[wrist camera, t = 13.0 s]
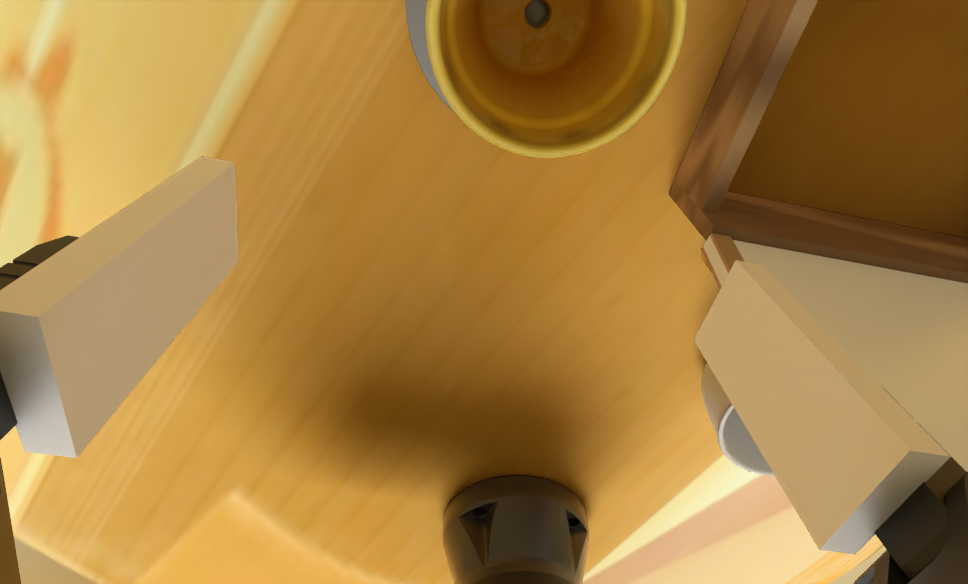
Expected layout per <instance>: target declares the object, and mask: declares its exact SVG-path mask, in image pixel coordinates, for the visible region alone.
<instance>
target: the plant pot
mask: <svg viewBox="0 0 968 584" xmlns="http://www.w3.org/2000/svg"><path fill="white" fill-rule="evenodd" d="M532 1H534V0H427V4H426V17H425V27H426V40H427V48H428V53H429V57H430V61H431V65H432V68H433V72H434V75H435V77H436V80H437V82H438V84H439V87H440V89H441V91H442V93H443V94H444V96H445V98H446V100H447V101H448V103H449V104H450V106H451V107H452V109H453V110H454V111H455V113H456V114H457V115H458V116H459V117H460V118H461V120H462V121H463V122H464V123H465V124H466V125H467V126H468V127H469V128H470V129H472V130H473V131H474V132H475V133H476V134H478V135H479V136H481V137H482V138H483V139H485V140H487V141H488V142H490V143H492V144H494V145H495V146H497V147H500V148H502V149H505V150H507V151H510V152H513V153H516V154H520V155H525V156H531V157H539V158H558V157H566V156H572V155H577V154H581V153H584V152H587V151H590V150H593V149H595V148H597V147H600V146H602V145H604V144H606V143H608V142H610V141H611V140H613V139H615V138H616V137H618V136H619V135H621V134H622V133H624V132H625V131H626V130H628V129H629V128H630V127H631V126H632V125H634V124H635V123H636V122H637V121H638V120H639V119H640V118H641V117H642V116H643V115H644V114H645V113H646V112H647V110H648V109H649V108H650V107H651V105H652V104H653V103H654V101H655V100H656V99H657V97H658V96H659V94H660V93H661V91H662V90H663V88H664V86H665V85H666V83H667V81H668V79H669V77H670V75H671V73H672V71H673V69H674V66H675V64H676V61H677V59H678V56H679V53H680V50H681V46H682V42H683V37H684V32H685V27H686V18H687V0H540V1H542V2H544V3H545V4H546V5H547V7H548V9H549V15H548V18H547V20H546V21H545V22H544V23H543V24H541V25H538V26H535V25H532V24H530V23H529V22H528V20H527V19H526V8H527V6H528V5H529V3H531V2H532Z"/></svg>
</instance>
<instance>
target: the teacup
mask: <svg viewBox="0 0 968 584" xmlns="http://www.w3.org/2000/svg"><path fill="white" fill-rule="evenodd" d="M701 389H702V395H703V399H704V403H705V406H706V409H707V411H708V414H709V416H710V419H711V421H712V424H713V426H714V428H715V431H716V433H717V436H718V441H719V445H720V448H721V450H722V451H723V453H724V454H725V455H726V456H727V458H728V459H730V460H731V461H732V462H733V463H734V464H736V465H738V466H739V467H741V468H743V469H745V470H747V471H749V472H754V473H758V474H764V475H771V476H775V475H774V473H773V471H772V470H771V468H770V466H769V465H768V463H767V461H766V460H765V458H764V456H763V455H762V453H761V451H760V450H759V448H758V446H757V445H756V443H755V441H754V440H753V438H752V436H751V435H750V433H749V431H748V430H747V428H746V426H745V425H744V423H743V421H742V420H741V418H740V416H739V415H738V413H737V411H736V410H735V408H734V406H733V405H732V403H731V401H730V400H729V398H728V396H727V395H726V393H725V392H724V390H723V388H722V387H721V385H720V383H719V382H718V380H717V378H716V377H715V375H714V373H713V372H712V370H711V368H710V367H709V365H708V363H706V365H705V368H704V370H703V374H702V380H701Z"/></svg>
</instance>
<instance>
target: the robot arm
mask: <svg viewBox="0 0 968 584" xmlns="http://www.w3.org/2000/svg"><path fill="white" fill-rule="evenodd" d="M237 263H238V231H237V200H236V169H235V162H230V161H225V160H220V159H215V158H210V157H205V156H201V157H200V158H198V159H197V160H195V161H194V162H192V163H191V164H189V165H188V166H186V167H185V168H183V169H182V170H180V171H179V172H177V173H176V174H174V175H173V176H171V177H170V178H168V179H167V180H165V181H164V182H162V183H161V184H159V185H158V186H156V187H155V188H153V189H152V190H150V191H149V192H147V193H146V194H144V195H143V196H141V197H140V198H138V199H137V200H135V201H134V202H132V203H131V204H129V205H128V206H126V207H125V208H123V209H122V210H120V211H119V212H117V213H116V214H114V215H113V216H111V217H110V218H108V219H107V220H105V221H104V222H102V223H101V224H99V225H98V226H96V227H95V228H93V229H92V230H90V231H89V232H87V233H86V234H84V235H83V236H81V237H80V238H79V237H73V236H65V237H62V238H58V239H55V240H52V241H49V242H46V243H43V244H40V245H37V246H35V247H33V248H32V249H30V250H28V251H27V252H25V253H24V254H22V255H20V256H19V257H17V258H15V259H14V260H13V263H7V264H6V265H4V266H3V267H1V268H0V440H1V439H2V438H3V437H4V436H5V435H6V434H7V433H8V432H9V431H10V430H11V429H12V428H13V427H14V426H15V425H16V428H17V431H18V434H19V437H20V439H21V442H22V445H23V448H24V451H25V452H33V453H41V454H49V455H57V456H65V457H73V458H77V457H78V456H79V455H80V454H81V452H82V451H83V450H84V449H85V448H86V446H87V445H88V444H89V443H90V442H91V440H92V439H93V438H94V437H95V435H96V434H97V433H98V432H99V431H100V429H101V428H102V427H103V426H104V424H105V423H106V422H107V421H108V420H109V418H110V417H111V416H112V415H113V414H114V412H115V411H116V410H117V409H118V407H119V406H120V405H121V404H122V403H123V401H124V400H125V399H126V398H127V397H128V395H129V394H130V393H131V392H132V390H133V389H134V388H135V387H136V386H137V384H138V383H139V382H140V381H141V380H142V378H143V377H144V376H145V375H146V373H147V372H148V371H149V370H150V369H151V367H152V366H153V365H154V364H155V363H156V361H157V360H158V359H159V358H160V356H161V355H162V354H163V353H164V352H165V350H166V349H167V348H168V347H169V345H170V344H171V343H172V342H173V341H174V339H175V338H176V337H177V336H178V335H179V333H180V332H181V331H182V330H183V328H184V327H185V326H186V325H187V324H188V322H189V321H190V320H191V319H192V318H193V316H194V315H195V314H196V313H197V311H198V310H199V309H200V308H201V307H202V305H203V304H204V303H205V302H206V301H207V299H208V298H209V297H210V296H211V294H212V293H213V292H214V291H215V290H216V288H217V287H218V286H219V285H220V284H221V282H222V281H223V280H224V279H225V277H226V276H227V275H228V274H229V273H230V271H231V270H232V269H233V268H234V267H235V265H236V264H237ZM694 342H695V343H696V345H697V347H698V348H699V350H700V352H701V353H702V355H703V357H704V358H705V360H706V362H707V363H708V365H709V367H710V368H711V370H712V372H713V373H714V375H715V377H716V378H717V380H718V382H719V383H720V385H721V387H722V388H723V390H724V392H725V393H726V395H727V396H728V398H729V400H730V401H731V403H732V405H733V406H734V408H735V410H736V411H737V413H738V415H739V416H740V418H741V420H742V421H743V423H744V425H745V426H746V428H747V430H748V431H749V433H750V435H751V436H752V438H753V440H754V441H755V443H756V445H757V446H758V448H759V450H760V451H761V453H762V455H763V456H764V458H765V460H766V461H767V463H768V465H769V466H770V468H771V470H772V471H773V473H774V475H775V476H776V478H777V480H778V481H779V483H780V485H781V486H782V488H783V490H784V491H785V493H786V495H787V496H788V498H789V500H790V501H791V503H792V505H793V506H794V508H795V510H796V511H797V513H798V515H799V516H800V518H801V520H802V521H803V523H804V525H805V526H806V528H807V530H808V531H809V533H810V535H811V536H812V538H813V540H814V541H815V543H816V545H817V546H818V548H819V550H826V551H834V552H842V553H850V554H856V553H857V552H858V551H859V550H860V549H861V548H862V547H863V546H864V545H865V544H866V543H867V542H868V541H869V540H870V539H871V538H872V537H873V536H874V535H875V534H876V535H877V537H878V538H879V539H880V541H881V542H882V544H883V545H884V546H885V548H886V549H887V550H886V552H885V553H883V554H882V555H881V556H880V557H879V558H878V559H877V560H876V561H875V562H874V564H872V565H871V566H870V567H869V568H868V569H867V570H866V571H865V572H864V573H863V574H862V575H861V576H860V577H859V578H858V579H857V580H856V581H855V583H854V584H968V472H966V471H965V470H964V469H963V468H962V467H961V466H960V465H959V464H958V463H957V462H956V461H955V460H954V459H953V458H952V457H951V456H950V455H949V454H948V453H947V452H946V451H945V450H944V449H943V447H942V446H941V445H940V444H939V443H938V442H937V441H936V440H935V439H934V438H933V437H932V436H931V435H930V434H929V433H928V432H927V431H926V430H925V429H924V428H923V427H922V426H921V425H920V424H919V423H918V422H916V421H915V420H914V418H913V417H912V416H911V415H910V414H909V413H908V412H907V411H906V410H905V409H904V408H902V407H901V406H900V405H899V403H898V402H897V401H896V400H895V399H894V398H893V397H892V396H891V395H890V394H889V393H888V392H887V391H886V390H885V389H884V388H883V387H882V386H881V385H880V384H879V383H878V382H877V381H876V380H875V379H874V378H873V377H872V376H871V375H870V374H869V373H868V372H867V371H866V370H865V369H864V368H863V367H862V366H861V365H860V364H859V363H858V362H857V361H856V360H855V359H854V358H853V357H852V356H851V355H850V354H849V353H848V352H847V351H846V350H845V349H844V348H843V347H842V346H841V345H840V344H839V343H838V342H837V341H836V340H835V339H834V338H833V337H832V336H831V335H830V334H829V333H828V332H827V331H826V330H825V329H824V328H823V327H822V326H821V325H820V324H819V323H818V322H817V321H816V320H815V319H814V318H813V317H812V316H811V315H810V314H809V313H808V312H807V311H806V310H805V309H804V308H803V307H802V306H801V305H800V304H799V303H798V302H797V301H796V300H795V299H794V298H793V297H792V296H791V294H790V293H789V292H788V291H787V290H786V289H785V288H784V287H783V286H782V285H781V284H780V283H779V282H778V281H777V280H776V279H775V278H774V277H773V276H772V275H771V274H770V273H769V272H768V271H767V270H766V269H765V268H764V267H763V266H762V265H759V264H753V263H748V262H743V261H738V260H735V262H734V264H733V266H732V268H731V270H730V272H729V274H728V276H727V278H726V279H725V281H724V283H723V285H722V287H721V289H720V291H719V293H718V295H717V297H716V299H715V301H714V302H713V304H712V306H711V308H710V310H709V312H708V314H707V316H706V318H705V320H704V322H703V323H702V325H701V327H700V329H699V331H698V333H697V335H696V337H695V339H694ZM588 541H589V529H588V523H587V518H586V513H585V509H584V506H583V504H582V502H581V501H580V499H579V498H578V497H577V496H576V495H575V494H574V493H573V492H572V491H570V490H569V489H567V488H566V487H564V486H562V485H560V484H558V483H555V482H553V481H550V480H546V479H542V478H537V477H530V476H506V477H498V478H493V479H489V480H486V481H482V482H480V483H477V484H475V485H472V486H471V487H469V488H467V489H465V490H464V491H462V492H461V493H459V494H458V495H457V496H456V497H455V498H454V499H453V500H452V501H451V502H450V504H449V505H448V507H447V509H446V511H445V514H444V522H443V545H444V549H445V553H446V556H447V560H448V563H449V567H450V571H451V574H452V578H453V581H454V584H582V582H583V575H584V568H585V562H586V555H587V548H588ZM0 584H21V581H20V574H19V568H18V562H17V556H16V549H15V543H14V537H13V531H12V525H11V519H10V513H9V507H8V500H7V494H6V488H5V482H4V476H3V470H2V464H1V458H0Z"/></svg>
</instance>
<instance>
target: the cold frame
mask: <svg viewBox="0 0 968 584" xmlns="http://www.w3.org/2000/svg"><path fill="white" fill-rule="evenodd" d="M817 2H818V0H749V1H748V4H747V6H746V9H745V11H744V14H743V16H742V18H741V21H740V23H739V26H738V28H737V30H736V33H735V35H734V38H733V40H732V42H731V45H730V47H729V50H728V52H727V55H726V57H725V59H724V62H723V64H722V67H721V69H720V71H719V74H718V76H717V79H716V81H715V84H714V86H713V88H712V91H711V93H710V96H709V98H708V100H707V103H706V105H705V108H704V110H703V112H702V115H701V117H700V120H699V122H698V125H697V127H696V129H695V132H694V134H693V137H692V139H691V141H690V144H689V146H688V149H687V151H686V154H685V156H684V158H683V161H682V163H681V166H680V168H679V170H678V173H677V175H676V178H675V180H674V182H673V185H672V187H671V190H670V192H669V195H670V197H671V198H672V199H673V200H674V202H675V203H676V204H677V205H678V207H679V208H680V209H681V210H682V212H683V213H684V214H685V215H686V216H687V218H688V219H689V220H690V221H691V223H692V224H693V225H694V226H695V228H696V229H697V230H698V231H699V233H700V234H701V235H702V236H703V237H704V239H705V240H706V241H707V239H708V237H709V236H710V234H711V233H715V234H721V235H726V236H731V238H732V239H733V240H736V241H742V242H747V243H752V244H758V245H763V246H769V247H774V248H779V249H785V250H790V251H795V252H801V253H806V254H812V255H817V256H822V257H828V258H833V259H839V260H844V261H849V262H855V263H860V264H865V265H871V266H876V267H882V268H887V269H892V270H898V271H903V272H909V273H914V274H919V275H925V276H930V277H935V278H941V279H946V280H952V281H957V282H962V283H968V238H962V237H957V236H952V235H947V234H942V233H937V232H932V231H927V230H922V229H917V228H912V227H907V226H902V225H896V224H891V223H886V222H881V221H876V220H871V219H866V218H861V217H856V216H851V215H846V214H841V213H836V212H831V211H825V210H820V209H815V208H810V207H805V206H800V205H795V204H790V203H785V202H780V201H775V200H770V199H765V198H759V197H754V196H749V195H744V194H739V193H734V192H729V191H727V190H728V188H729V186H730V184H731V182H732V180H733V178H734V176H735V174H736V172H737V169H738V167H739V165H740V163H741V161H742V159H743V157H744V155H745V153H746V151H747V148H748V146H749V144H750V142H751V140H752V138H753V136H754V134H755V132H756V130H757V127H758V125H759V123H760V121H761V119H762V117H763V115H764V113H765V111H766V109H767V106H768V104H769V102H770V100H771V98H772V96H773V94H774V92H775V90H776V88H777V86H778V83H779V81H780V79H781V77H782V75H783V73H784V71H785V69H786V67H787V65H788V62H789V60H790V58H791V56H792V54H793V52H794V50H795V48H796V46H797V44H798V41H799V39H800V37H801V35H802V33H803V31H804V29H805V27H806V25H807V23H808V20H809V18H810V16H811V14H812V12H813V10H814V8H815V6H816V4H817Z"/></svg>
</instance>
